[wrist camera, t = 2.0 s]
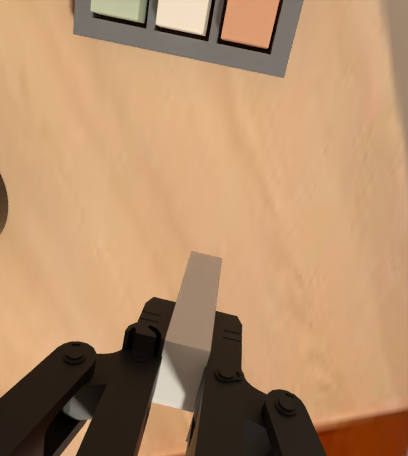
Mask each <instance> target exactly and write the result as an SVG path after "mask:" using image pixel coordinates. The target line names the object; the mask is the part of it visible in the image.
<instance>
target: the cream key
mask: <svg viewBox="0 0 408 456" xmlns="http://www.w3.org/2000/svg"><path fill="white" fill-rule="evenodd" d="M211 2H212V0H158V8H157V16H156V25H158V26H160V27H162V28H167V29H172V30H177V31H182V32H187V33H191V34H196V35H201V36H206V31H207V25H208V20H209V14H210V8H211Z"/></svg>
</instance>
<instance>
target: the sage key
mask: <svg viewBox="0 0 408 456" xmlns="http://www.w3.org/2000/svg"><path fill="white" fill-rule="evenodd" d="M146 9H147V0H91V9H90V11H93V12H95V13H98V14H100V15H105V16H110V17H114V18H119V19H124V20H129V21H134V22H138V23H143V24H145V17H146Z"/></svg>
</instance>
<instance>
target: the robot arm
mask: <svg viewBox="0 0 408 456" xmlns="http://www.w3.org/2000/svg"><path fill="white" fill-rule="evenodd" d="M7 215H8V199H7V194H6V190H5V186H4V184H3V181H2V179H1V177H0V234H1V232H2V230H3V228H4V226H5V224H6V220H7ZM221 263H222V258H218V257H214V256H210V255H206V254H202V253H198V252H193V251H191V254H190V258H189V261H188V264H187V268H186V271H185V274H184V278H183V281H182V284H181V288H180V291H179V294H178V298H177V301H176V302H173V301H168V300H164V299H160V298H156V297H153V298H152V299H150V300H149V301H148V302H146V304H145V306H144V308H143V310H142V313H141V315H140V318H139V320H138V322H137V323H134V324H132V325H130V326H128V328H127V329H126V330H125V336H124V342H123V348H122V350H120V351H118V352H115V353H109V354H96V352H95V350H94V348H93V347H92V346H90V345H89V344H87V343H83V342H68V343H65V344H63V345H61V346H59V347H58V348H56V349H55V350H54V351H53V352H52V353H51V354H50V355H49V356H47V357H46V358H45V359H44V360H43V361H42V362H41V363H40V364H38V365H37V366H36V367H35V368H34V369H33V370H32V371H31V372H29V373H28V374H27V375H26V376H25V377H24V378H23V379H21V380H20V381H19V382H18V383H17V384H16V385H15V386H14V387H12V388H11V389H10V390H9V391H8V392H7V393H6V394H5V395H3V396H2V397H1V398H0V456H60V455H61V454H62V452H63V451H64V450H65V449H66V447H67V446H68V445H69V443H70V442H71V441H72V440H73V438H74V437H75V436H76V435H77V433H78V432H79V431H80V429H81V428H82V427H83V426H84V424H85V423H86V421H87V420H88V419H92V420H91V422H90V425H89V427H88V429H87V431H86V434H85V436H84V438H83V441H82V443H81V445H80V447H79V450H78V452H77V454H76V456H138V452H139V448H140V445H141V441H142V437H143V434H144V430H145V427H146V423H147V419H148V416H149V411H150V407H151V403H152V402H153V403H157V404H161V405H166V406H170V407H174V408H178V409H182V410H186V411H190V412H194V415H193V418H192V422H191V425H190V429H189V432H188V436H187V439H186V441H187V442H188V444H187V450H186V456H327V455H326V453H325V451H324V448H323V446H322V444H321V442H320V439H319V437H318V435H317V432H316V430H315V428H314V426H313V423H312V421H311V419H310V416H309V414H308V412H307V410H306V407H305V406H304V404H303V403H302V401H301V400H300V399H299V398H298V397H297V396H295V395H294V394H292V393H290V392H288V391H285V390H281V389H278V390H272V391H271V392H269V393H268V394H265V393H263V392H261V391H259V390H257V389H256V388H254V387H253V386H251V385H250V384H249V383H248V382H247V381H246V379H245V377H244V373H243V372H242V369H241V360H242V343H241V342H242V324H241V322H240V321H239V319H238V317H237V316H234V315H230V314H226V313H222V312H218V311H216V303H217V295H218V287H219V279H220V271H221Z"/></svg>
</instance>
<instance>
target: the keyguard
mask: <svg viewBox="0 0 408 456" xmlns="http://www.w3.org/2000/svg"><path fill="white" fill-rule="evenodd" d="M303 1H304V0H282V1H281V6H280V10H279V14H278V18H277V23H276V27H275V31H274V35H273V40H272V44H271V48H270V52H269V54H265V53H261V52H256V51H251V50H246V49H241V48H237V47H232V46H227V45H222V44H218V41H219V36H220V30H221V25H222V20H223V14H224V9H225V3H226V0H216V1H215V7H214V12H213V18H212V24H211V29H210V35H209V41H203V40H198V39H193V38H188V37H184V36H179V35H174V34H169V33H164V32H160V26H158V25H156V16H157V8H158V0H150V1H149V10H148V18H147V27H146V29H145V28H140V27H136V26H131V25H126V24H121V23H116V22H111V21H107V20H102V15H100V14H98V13H95V12H93V11H90V9H91V0H75V9H74V30H73V34H76V35H80V36H85V37H90V38H95V39H99V40H104V41H109V42H114V43H119V44H123V45H128V46H133V47H138V48H143V49H147V50H152V51H157V52H162V53H167V54H171V55H176V56H181V57H186V58H191V59H195V60H200V61H205V62H210V63H215V64H219V65H224V66H229V67H234V68H239V69H243V70H248V71H253V72H258V73H263V74H267V75H272V76H277V77H282V78H284V75H285V71H286V67H287V63H288V59H289V55H290V51H291V48H292V44H293V40H294V36H295V32H296V28H297V24H298V20H299V16H300V12H301V8H302V4H303Z"/></svg>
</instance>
